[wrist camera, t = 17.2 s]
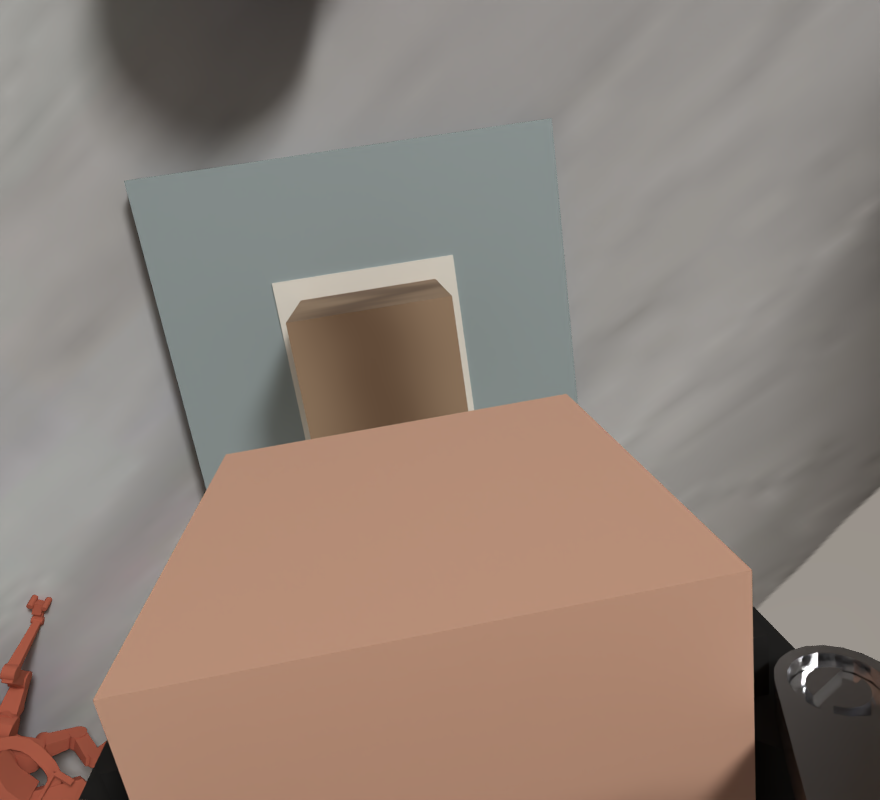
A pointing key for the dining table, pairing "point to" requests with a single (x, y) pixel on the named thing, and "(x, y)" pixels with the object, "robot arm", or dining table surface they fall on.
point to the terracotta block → (440, 626)
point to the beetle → (14, 757)
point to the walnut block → (377, 357)
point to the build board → (355, 268)
